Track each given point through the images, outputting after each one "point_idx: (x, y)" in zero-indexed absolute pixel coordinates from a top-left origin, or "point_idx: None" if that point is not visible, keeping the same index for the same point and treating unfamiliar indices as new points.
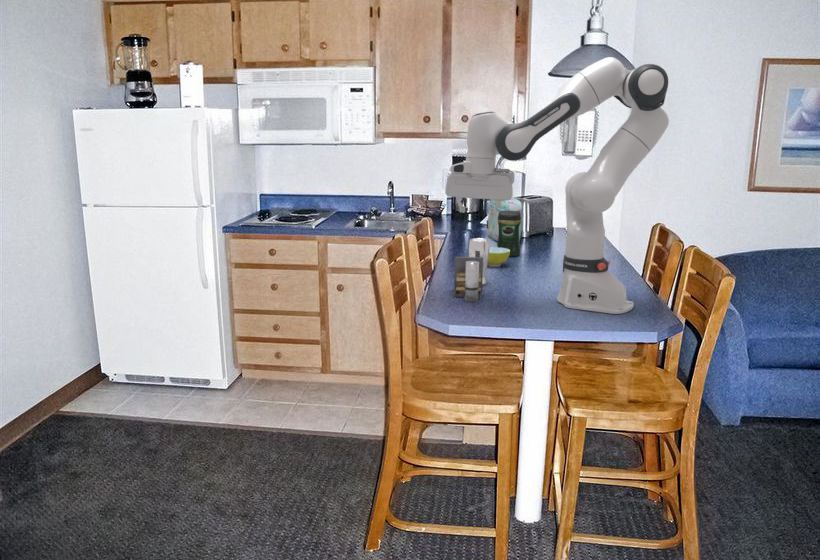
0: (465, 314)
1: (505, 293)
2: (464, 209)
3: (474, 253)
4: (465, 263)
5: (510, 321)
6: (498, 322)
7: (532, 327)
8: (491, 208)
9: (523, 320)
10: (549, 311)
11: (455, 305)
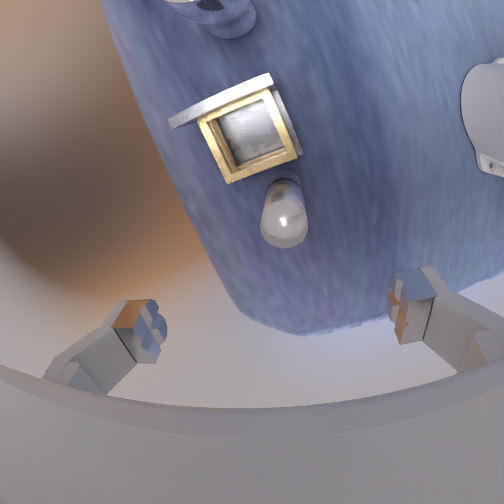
0: (309, 286)
1: (343, 84)
2: (147, 324)
3: (202, 18)
4: (213, 110)
5: None
6: (374, 301)
7: None
8: (409, 321)
9: None
10: (454, 203)
11: None
